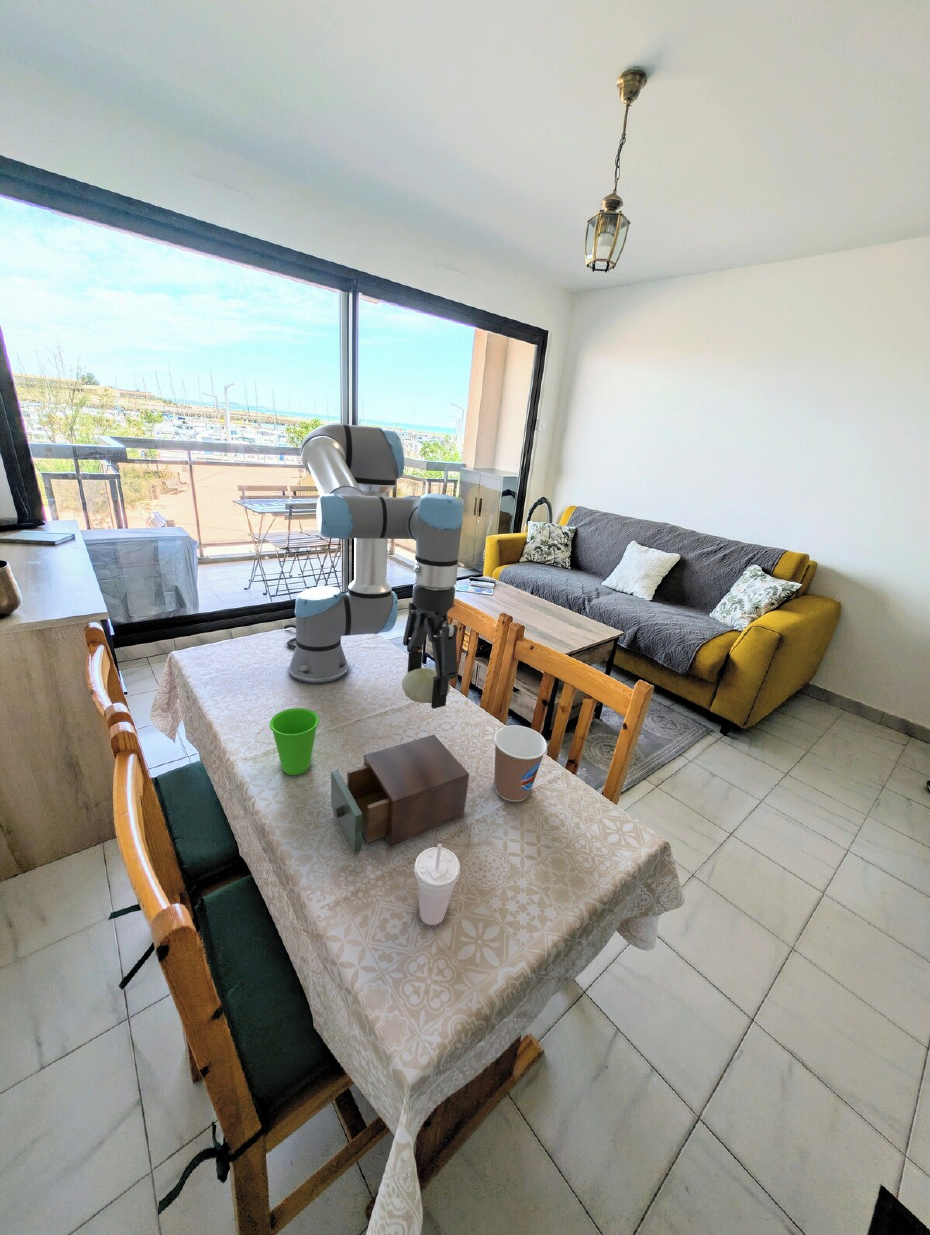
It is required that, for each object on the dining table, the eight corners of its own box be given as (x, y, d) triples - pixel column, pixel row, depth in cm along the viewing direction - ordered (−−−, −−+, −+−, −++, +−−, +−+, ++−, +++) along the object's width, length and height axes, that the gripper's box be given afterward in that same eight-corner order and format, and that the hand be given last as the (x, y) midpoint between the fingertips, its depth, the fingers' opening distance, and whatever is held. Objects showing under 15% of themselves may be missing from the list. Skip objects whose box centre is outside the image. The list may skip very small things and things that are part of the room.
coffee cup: (524, 816, 89) (534, 765, 84) (477, 792, 93) (484, 742, 89) (544, 786, 97) (555, 738, 93) (500, 765, 102) (508, 718, 97)
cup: (278, 788, 89) (276, 740, 85) (267, 759, 96) (264, 714, 92) (325, 773, 94) (325, 727, 90) (311, 747, 100) (311, 703, 96)
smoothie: (405, 928, 67) (411, 856, 61) (416, 888, 73) (423, 819, 67) (449, 939, 66) (459, 866, 61) (457, 897, 72) (467, 828, 67)
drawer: (347, 856, 75) (347, 819, 73) (324, 808, 84) (324, 773, 81) (427, 823, 83) (431, 788, 81) (399, 782, 92) (401, 749, 89)
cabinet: (390, 846, 79) (393, 801, 76) (362, 796, 89) (363, 754, 85) (463, 815, 87) (469, 773, 84) (430, 773, 97) (434, 734, 93)
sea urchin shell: (448, 702, 86) (421, 670, 85) (417, 722, 89) (390, 691, 88) (458, 679, 95) (433, 649, 93) (429, 698, 97) (405, 669, 96)
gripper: (388, 568, 90) (384, 672, 98) (449, 607, 73) (437, 728, 81) (423, 566, 94) (416, 666, 102) (487, 602, 77) (472, 718, 85)
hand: (425, 693), depth 92 cm, fingers closed on sea urchin shell, 9 cm apart
